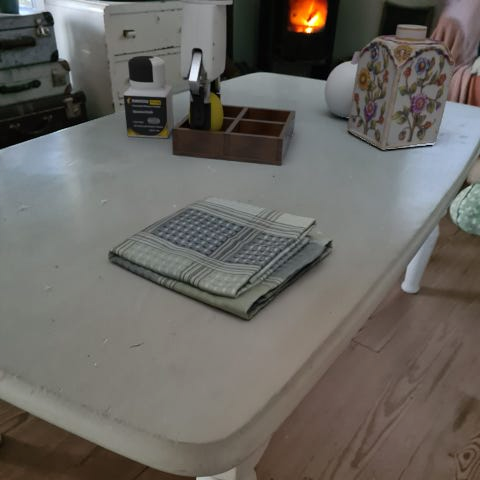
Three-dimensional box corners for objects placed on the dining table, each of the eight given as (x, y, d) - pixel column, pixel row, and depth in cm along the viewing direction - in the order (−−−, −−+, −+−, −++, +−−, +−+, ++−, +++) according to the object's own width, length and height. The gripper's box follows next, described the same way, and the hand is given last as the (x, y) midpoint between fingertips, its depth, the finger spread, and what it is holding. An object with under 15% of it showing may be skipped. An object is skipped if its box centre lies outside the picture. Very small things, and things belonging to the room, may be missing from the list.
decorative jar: (381, 152, 87) (404, 30, 77) (344, 132, 96) (361, 21, 85) (437, 146, 91) (467, 29, 80) (398, 128, 100) (420, 20, 89)
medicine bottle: (126, 137, 89) (119, 60, 82) (135, 125, 95) (129, 52, 88) (168, 139, 89) (164, 62, 82) (173, 127, 95) (171, 54, 88)
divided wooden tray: (172, 154, 82) (171, 128, 80) (200, 125, 96) (200, 102, 94) (281, 165, 80) (283, 138, 78) (293, 134, 94) (295, 110, 91)
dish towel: (102, 263, 54) (98, 235, 52) (207, 208, 66) (207, 184, 64) (251, 327, 45) (253, 297, 44) (340, 251, 58) (344, 225, 56)
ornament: (363, 127, 99) (374, 58, 92) (314, 118, 103) (321, 51, 96) (379, 116, 106) (391, 51, 99) (333, 108, 110) (341, 45, 103)
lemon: (228, 139, 86) (229, 88, 81) (213, 148, 82) (213, 94, 77) (198, 134, 87) (198, 83, 83) (182, 142, 83) (181, 89, 79)
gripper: (196, -14, 80) (196, 109, 90) (161, -8, 66) (166, 136, 77) (243, -11, 79) (238, 113, 89) (218, -4, 65) (216, 141, 76)
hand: (205, 122), depth 83 cm, fingers closed on lemon, 5 cm apart
